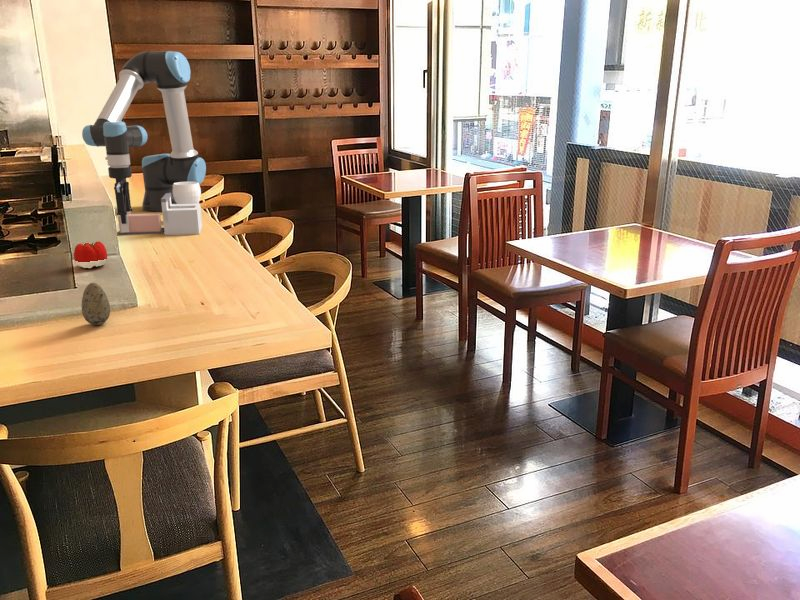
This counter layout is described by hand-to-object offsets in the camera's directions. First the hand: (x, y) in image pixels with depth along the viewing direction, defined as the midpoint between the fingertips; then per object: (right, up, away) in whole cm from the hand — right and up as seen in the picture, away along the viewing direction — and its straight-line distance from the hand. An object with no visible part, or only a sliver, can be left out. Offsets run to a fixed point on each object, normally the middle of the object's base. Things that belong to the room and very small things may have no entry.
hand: (126, 230), depth 248 cm
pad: (+5, 0, +2) cm, 5 cm away
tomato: (+8, -16, -44) cm, 48 cm away
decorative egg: (+30, -31, -92) cm, 101 cm away
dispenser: (+20, 0, +4) cm, 20 cm away
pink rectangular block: (+5, 0, +1) cm, 5 cm away
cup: (+16, +6, +22) cm, 28 cm away
